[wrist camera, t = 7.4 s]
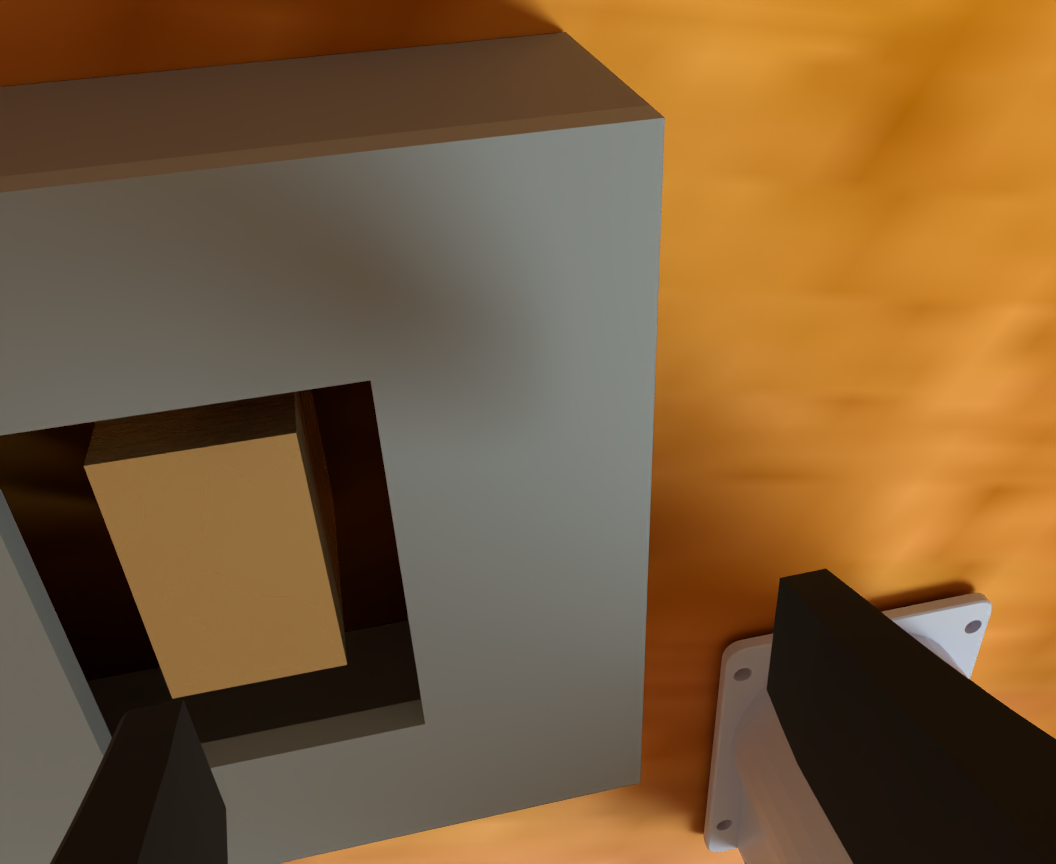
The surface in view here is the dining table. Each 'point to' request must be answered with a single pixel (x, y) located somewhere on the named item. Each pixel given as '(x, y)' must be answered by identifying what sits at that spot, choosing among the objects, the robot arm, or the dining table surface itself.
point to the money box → (399, 398)
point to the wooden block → (225, 538)
